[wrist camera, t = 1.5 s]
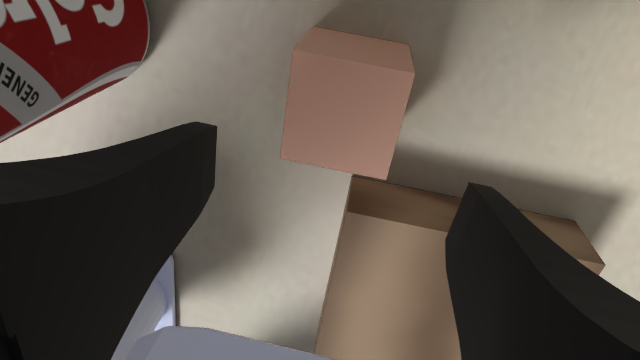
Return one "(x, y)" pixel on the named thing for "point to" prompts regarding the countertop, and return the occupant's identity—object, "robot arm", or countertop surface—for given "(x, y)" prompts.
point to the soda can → (64, 54)
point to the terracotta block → (346, 102)
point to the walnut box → (404, 274)
